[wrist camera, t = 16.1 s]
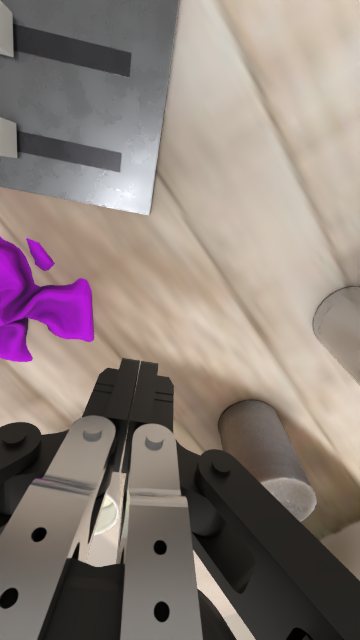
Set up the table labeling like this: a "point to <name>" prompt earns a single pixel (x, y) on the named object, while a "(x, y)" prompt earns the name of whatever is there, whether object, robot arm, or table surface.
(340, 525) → the table surface
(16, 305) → the cloth
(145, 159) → the panel
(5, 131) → the block
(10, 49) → the block
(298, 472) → the pillar candle
